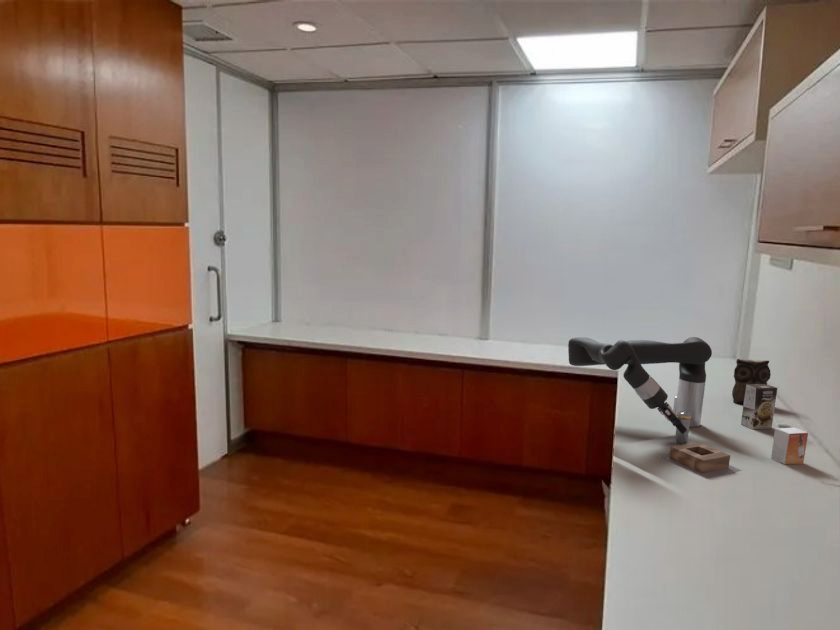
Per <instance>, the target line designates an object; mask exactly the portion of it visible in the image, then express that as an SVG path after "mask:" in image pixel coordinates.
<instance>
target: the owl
mask: <svg viewBox="0 0 840 630" xmlns="http://www.w3.org/2000/svg"><path fill="white" fill-rule="evenodd" d="M735 361H736V362H735V363H736V366H735V368H734V370H733V378H734V386H733V388H732V391H731V392H732V393H731V395H732V399H733V404H735V405H741V406H743V405H744V398H745V391H746V384H766V385H768V383H767V382H768V381H769V380H770V379H771V369H770V366H769V363H770V360H761V359H740V358H737V359H736V360H735Z"/></svg>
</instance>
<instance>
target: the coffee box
mask: <svg viewBox="0 0 840 630" xmlns="http://www.w3.org/2000/svg"><path fill="white" fill-rule="evenodd" d="M777 393H778V387H776V386H773V385H770V384H767V385H766V384H746V391H745V398H744V405H742V414H741V420H740V425H741V426H744V427H747V428H749V429H752V430H766V429H767V430H768V429H772V428H773V422H774V415H775V409H776V401H777Z"/></svg>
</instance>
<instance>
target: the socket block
mask: <svg viewBox="0 0 840 630" xmlns="http://www.w3.org/2000/svg"><path fill="white" fill-rule="evenodd" d="M669 454H670V458H669V459H671V460H674V461H676V462H678V463H680V464H683V465H685V466H687V467H689V468H691V469H694V470H696V471H698V472H700V473H706V472H711V471H715V470H720V469H724V468H729V465H730V459H731V454H728V453H726V452H723V451H722V450H718V449H716V448H713V447H711V446H708V445H706V444H705V443H704V444H703V443H701V442H698V441H694V442H687V444H682V445H681V444H677V445H672V446H670V452H669Z"/></svg>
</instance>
